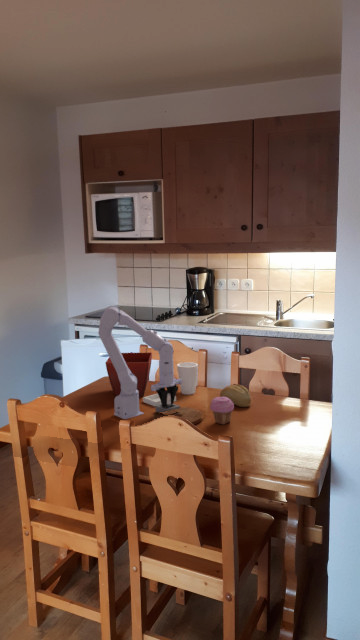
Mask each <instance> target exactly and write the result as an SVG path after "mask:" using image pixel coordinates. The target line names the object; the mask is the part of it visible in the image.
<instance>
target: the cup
mask: <svg viewBox="0 0 360 640" xmlns="http://www.w3.org/2000/svg"><path fill="white" fill-rule="evenodd" d="M154 407H155V409H154V410H155V413H157V412H166V411H169V410H172V409H179V408H180V409H181V405H178V404H175V403H173V404H171V407H170V408H164V406H162V404H160V405H157V406H154Z"/></svg>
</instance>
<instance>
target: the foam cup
mask: <svg viewBox="0 0 360 640" xmlns="http://www.w3.org/2000/svg"><path fill="white" fill-rule="evenodd" d="M176 370H177V375H178V379H182V384H179V386H180V393H181V394H183V395H186V396H187V395H194V394H195V393H196V388H197V380H198V372H199V364H198V363H197V362H191V361H188V362H179V363H177V364H176Z"/></svg>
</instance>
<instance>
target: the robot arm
mask: <svg viewBox="0 0 360 640" xmlns="http://www.w3.org/2000/svg"><path fill="white" fill-rule="evenodd" d="M116 324H118V325H119V326H126V327H128V328H129V329H130V330H132V331H133V332H135V333H136V334H138V335H139V336H141V337H142V342H143V343H145V344H146V345H147V346H148V347H150V348H151V349H153V350H154V351H156V352H158V356H159V361H158V373H159V381H158V382H157V383H154V384H151V385H150V391H152V392H156V394H158V395H159V397H160V400H161V404H162V406H166V405H167V393H168V392H171V404H174V402H175V401H174V398H175V396H176V394H177V392H178V391H179V386H178V385H180V384H182V379H179V378H176V379H175V376H174V375H175V372H174V351H175V350H174V347H173V344H172V343H171V341H169V340H167V338H166V337H162V336H161V335H159V334H158V331H156V330H153V329H146V328H145V327H144V326H143V325H142V324H140V323H139V322H138V321H136V320H135V319H134V318H133V317H131V315H129V314H128V313H127V312H125V311H124V310H121V309H119V308H118V307H117V306H115V305H109V306H107V307H106V308H105V310H104V311H103V313H102V315H101V317H100V319H99V327H98V331H97V333H98V336H99V338H100V340H101V343H102V344H103V347H104V349H105V351H106V353H107V354H108V358H109V357H110V359H111V361H112V363H113V365H114V368H115V370H116V372H117V374H118V378H119V381H120V383H121V392H120V393H121V394H120V395H118V396H115V398H114V400H113V401H114V402H113V403H114V413H113V415H114V416H116V417H118V418H120V419H123V420H128V419H130V418H134V417H138V416H140V415H144V412H142V411H140V397H139V391H138V390H137V378H136V376H134V375H133V374H132V373H131V371H130V369H129V368H128V366H127V364H126V362H125V360H124V358H123V356H122V354H121V353H122V351H121V350H120V348H119V345H118V344H117V341H116V339H115V337H114V335H113V332H112V331H113V330H114V326H115V325H116Z"/></svg>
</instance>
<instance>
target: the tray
mask: <svg viewBox="0 0 360 640" xmlns="http://www.w3.org/2000/svg"><path fill="white" fill-rule="evenodd" d="M142 402H143V403H145V404H147V405H150V406H152V407H155V406H157V405H160V404H161V400H160V397H159V395H158V393H154V394H151V395H148V396H142ZM174 402H177V396H176V395H175V398H174Z"/></svg>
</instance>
